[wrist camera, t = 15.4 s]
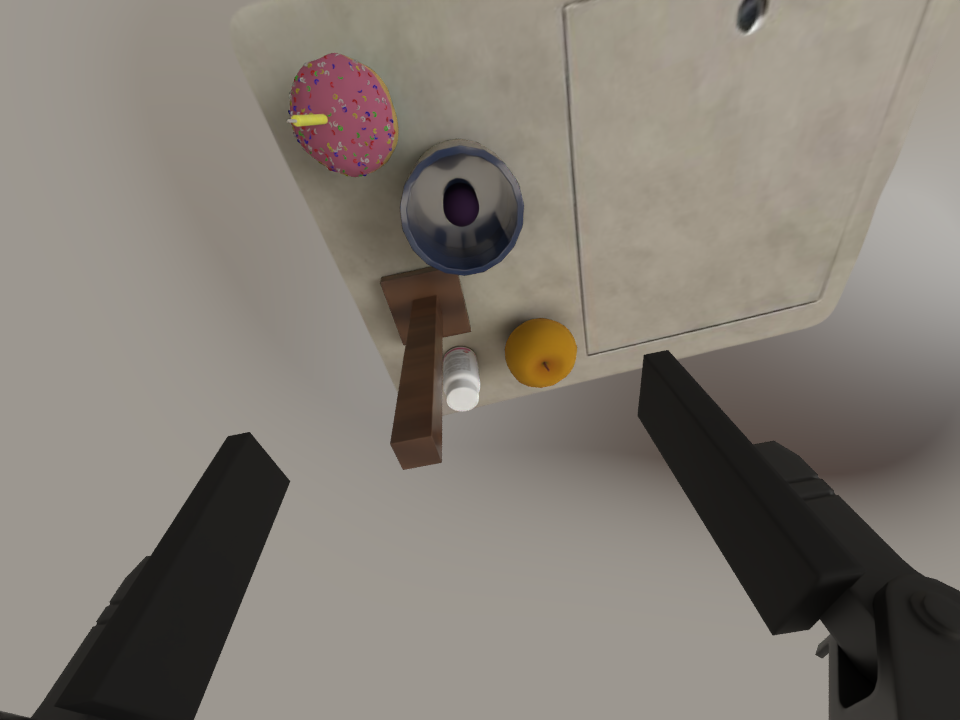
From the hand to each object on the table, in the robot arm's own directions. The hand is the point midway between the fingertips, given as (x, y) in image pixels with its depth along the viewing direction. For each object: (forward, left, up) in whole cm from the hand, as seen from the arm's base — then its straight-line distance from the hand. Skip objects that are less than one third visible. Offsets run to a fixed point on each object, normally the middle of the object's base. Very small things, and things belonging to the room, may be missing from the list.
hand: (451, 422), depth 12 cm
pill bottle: (+20, -3, -33) cm, 39 cm away
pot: (0, +1, -33) cm, 33 cm away
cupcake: (-9, -7, -33) cm, 35 cm away
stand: (+11, -5, -33) cm, 35 cm away
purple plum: (0, +1, -32) cm, 32 cm away
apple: (+18, +7, -33) cm, 38 cm away
